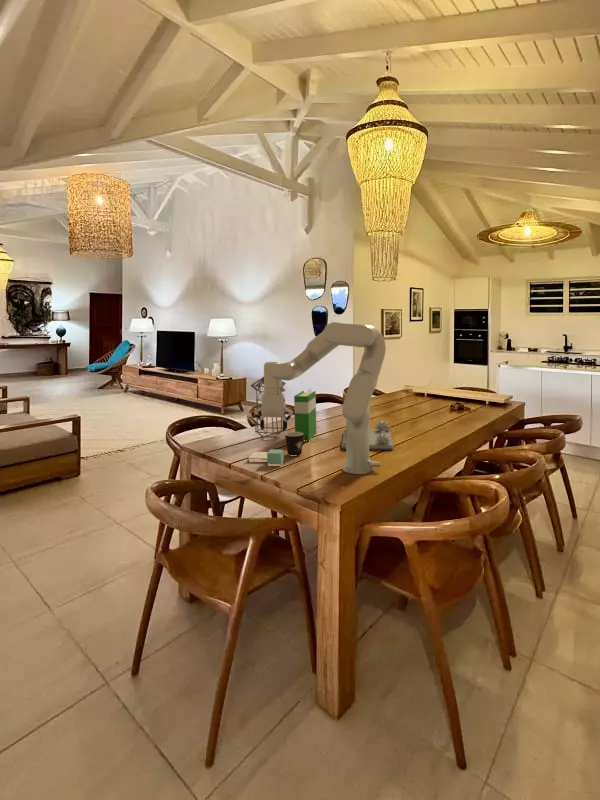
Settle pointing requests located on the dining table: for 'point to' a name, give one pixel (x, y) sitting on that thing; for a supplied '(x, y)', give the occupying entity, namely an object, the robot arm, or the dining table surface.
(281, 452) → the block
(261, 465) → the dining table surface
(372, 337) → the robot arm
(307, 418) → the hardback book
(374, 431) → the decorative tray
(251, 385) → the geometric lantern
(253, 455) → the coaster
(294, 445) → the coffee mug
